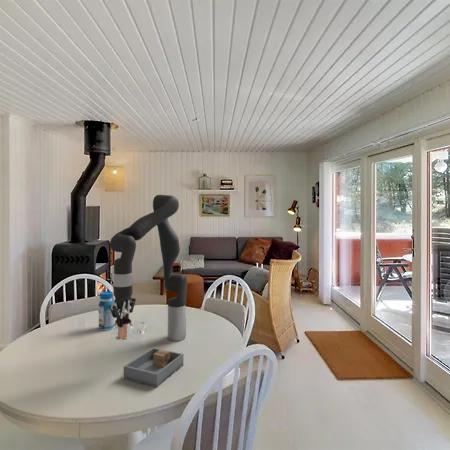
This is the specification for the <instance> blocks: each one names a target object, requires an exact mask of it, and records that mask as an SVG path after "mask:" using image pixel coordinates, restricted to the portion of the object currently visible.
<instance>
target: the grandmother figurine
mask: <svg viewBox="0 0 450 450" xmlns="http://www.w3.org/2000/svg"><path fill="white" fill-rule="evenodd" d="M119 310H121V309H119ZM127 313H128V312H127V310H126V309H124V313H123V327H118V326H117V318H115V320H114V327H116V326H117V336H116V338H115V339H116V340H121V341H122V340H123V341H124V340H127V339H128V325H129V326H130V327H132V326H133V322H132V320H131V318H130V317H129V318H128V317H126V316H125V315H126V314H127ZM119 314H120V312H119ZM127 322H128V323H129V324H128V325H127Z"/></svg>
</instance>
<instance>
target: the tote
mask: <svg viewBox="0 0 450 450" xmlns="http://www.w3.org/2000/svg"><path fill="white" fill-rule="evenodd" d="M159 350H163V349H161V348H156V347H151V348H150V349H149V350H147V351H145V352H143V353H142V354H141V355H139V356H137V357H135V358H133V360H130V361H129V362H128V363H126V364H124V365H123V379H124V380H128V381H131V382H136V383H139V384H142V385H147V386H150V387H153V388H158V387H159V386H160V385H162V384H163V383H164V382H166V381H167V380H168V379H169V378H170V377H171V376H172V374H173V373H174V372H175V371H176V372H178V371H179V370H180V369H181V368H182V367H183V366H184V353H182V352H175V351H173V350H172V351H171V350H166V349H164V350H165V351H169V352H170V363H169V364H168V365H166V366H165V367H164V368H161V367H157V366H153V354H154V353H156V352H157V351H159ZM181 366H182V367H181ZM180 367H181V368H180ZM179 368H180V369H179ZM178 369H179V370H178ZM176 372H175V373H176ZM175 373H174V374H175ZM174 374H173V375H174ZM167 378H168V379H167ZM166 379H167V380H166Z"/></svg>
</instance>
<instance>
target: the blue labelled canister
mask: <svg viewBox="0 0 450 450" xmlns="http://www.w3.org/2000/svg"><path fill="white" fill-rule="evenodd" d="M113 298H114V295H113V291H108V290H107V291H101V292H100V293H99V302H98V310H97V312H98V330H99V331H110V330H113V329H114V328H115V325H114V324H115V318H114V317H113V316H112V313H111V311H110V308H109V306H110V305H113V304H114V300H113ZM113 327H114V328H113ZM112 328H113V329H112Z"/></svg>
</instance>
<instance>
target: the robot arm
mask: <svg viewBox="0 0 450 450" xmlns="http://www.w3.org/2000/svg"><path fill="white" fill-rule="evenodd" d="M179 205H180V203H179V199H178V198H177V196H174V195H170V194H169V195H167V194H156V195H155V196H154V198H153V200H152V211H153V212H151V213H148V214H145V215H143V216H142V217H141V216H140V217H139V218H138V219H137V220H135V221H134V222H133V223H132V224H131V225H130V226H128V227H126V228H124V229H123V230H121V231H118V232H117V233H116V234H114V235H113V236H112V237H111V239H110V242H109V248H110V250H111V251H113V252H116V253H121V255H120V257H118V258H116V259H114V262H113V278H112V279H113V281H112V287H113V289H112V292H113V298H114V300H113V302H114V304H113V305H110V306H109V308H110V311H111V313H112V316H113V317H114V319H117V325H116V326H117V328H118V327H123V313H124V309H126V310H127V312H128V313H127V314H126V315H125V316H126V317H128V318H129V319H130V315H131V314H132V313H133V312H134V308H135V305H136V302H137V301H136V298H135V297H132V295H133V294H134V293H133V280H134V279H133V260H134V256H135V252H136V249H137V243H136V241H140V240H141V239H143V238H144V237H145V236H146V235H147V234H148V233H150V231H151V230H152V229H154V228H155V227H157V231H158V237H159V246H160V250H161V251H160V253H161V257H162V265H163V282H164V288H165V290H166V291H168V292H170V293H171V292H173V293H177V295H176V296H175V297H171V298H169V299H168V300H167V340H170V341H173V342H174V341H176V342H179V341H183V340H185V339H186V336H187V317H186V316H187V315H186V313H187V312H186V311H187V308H186V307H187V305H186V304H187V294H188V293H187V291H188V278H187V276H186V275H185V274H183V273H174V272H173V271H174V270H173V266H174V264H175V262H176V260H177V258H178V257H179V254H180V250H181V248H180V241H179V239H180V238H179V236H178V234H177V233H176V231H175V230H174V228H173V227H172V225H171V224H170V222H169V218H170V217H172V216H173V215H175V214H176V213H177V212H178V210H179V207H180V206H179ZM120 309H121V310H120ZM119 312H120V313H119ZM128 325H130V324H129V323H128V322H127V326H128Z"/></svg>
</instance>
